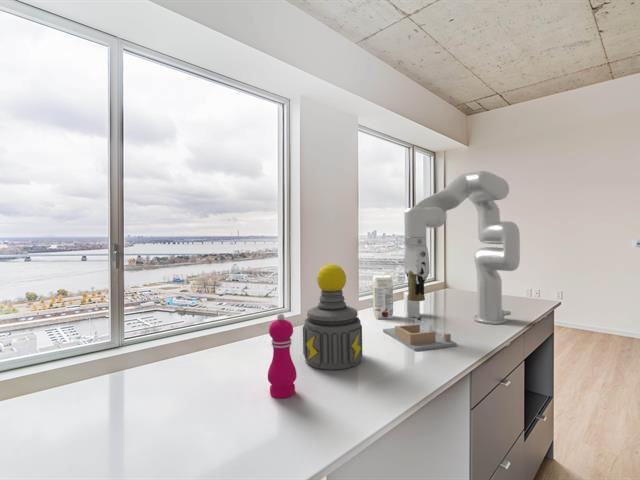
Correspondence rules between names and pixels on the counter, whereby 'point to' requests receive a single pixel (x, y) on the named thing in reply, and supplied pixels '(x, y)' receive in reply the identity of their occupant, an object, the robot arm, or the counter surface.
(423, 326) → the bar
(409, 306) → the small box
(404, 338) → the dock
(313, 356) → the decorative lamp
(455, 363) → the counter surface
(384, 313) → the juice carton
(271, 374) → the pepper mill
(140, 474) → the counter surface
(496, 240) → the robot arm
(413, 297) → the cork
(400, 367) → the counter surface
